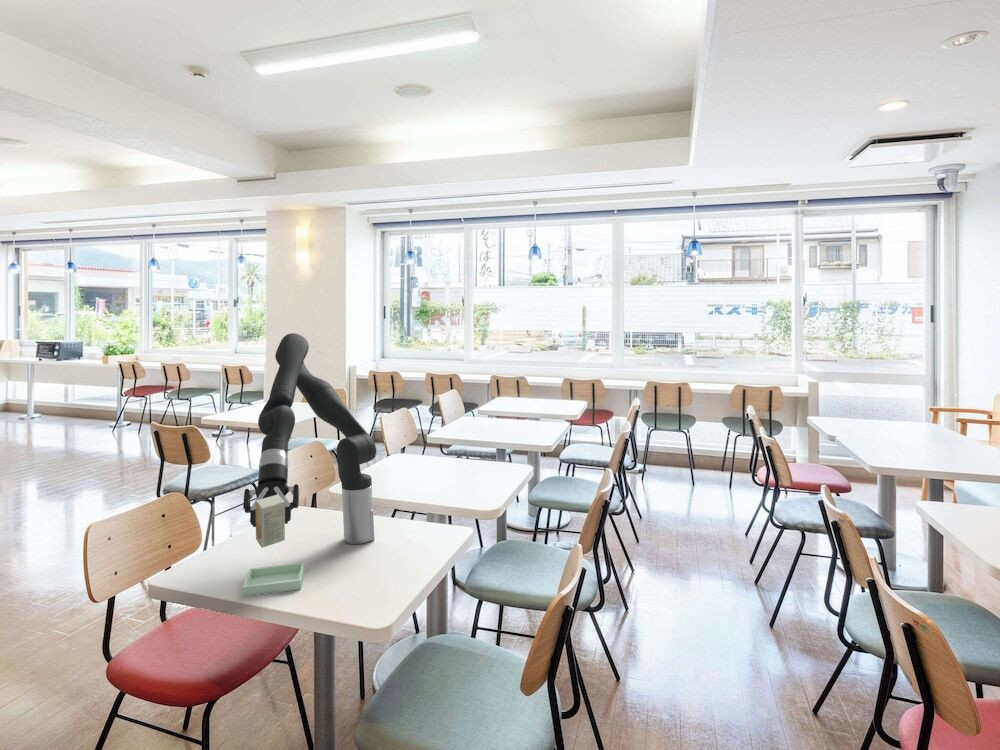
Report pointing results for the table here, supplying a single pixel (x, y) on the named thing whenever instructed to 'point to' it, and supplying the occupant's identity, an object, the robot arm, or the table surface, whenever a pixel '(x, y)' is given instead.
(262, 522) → the skincare box
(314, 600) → the table surface
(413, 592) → the table surface
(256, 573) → the tray
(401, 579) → the table surface
